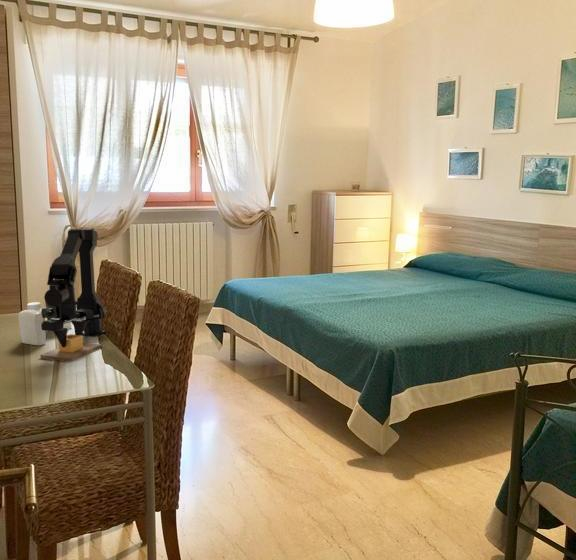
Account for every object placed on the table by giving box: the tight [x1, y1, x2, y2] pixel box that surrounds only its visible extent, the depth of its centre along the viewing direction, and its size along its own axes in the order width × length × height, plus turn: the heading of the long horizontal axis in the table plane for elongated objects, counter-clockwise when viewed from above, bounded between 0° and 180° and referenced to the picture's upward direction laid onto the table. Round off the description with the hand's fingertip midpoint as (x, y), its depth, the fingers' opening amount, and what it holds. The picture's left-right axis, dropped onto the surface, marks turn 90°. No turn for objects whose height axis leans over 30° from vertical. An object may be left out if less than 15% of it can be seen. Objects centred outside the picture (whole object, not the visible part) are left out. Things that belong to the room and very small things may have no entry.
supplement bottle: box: [26, 301, 48, 337], centre depth 226 cm, size 7×7×13 cm
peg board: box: [39, 334, 103, 363], centre depth 205 cm, size 16×12×6 cm
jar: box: [44, 300, 72, 333], centre depth 235 cm, size 9×8×12 cm
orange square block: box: [57, 333, 84, 352], centre depth 205 cm, size 5×5×4 cm
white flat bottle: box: [17, 309, 47, 346], centre depth 218 cm, size 10×4×12 cm, turn 60°
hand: (71, 344), depth 205 cm, fingers open, 6 cm apart
